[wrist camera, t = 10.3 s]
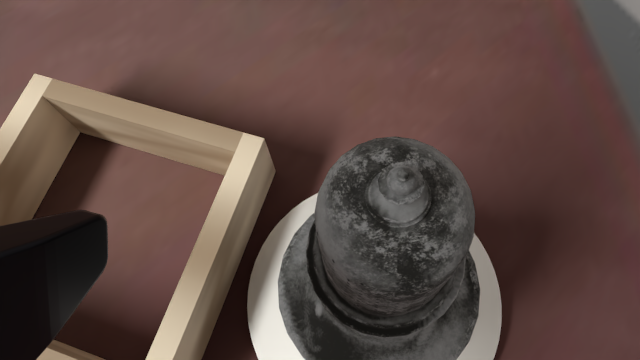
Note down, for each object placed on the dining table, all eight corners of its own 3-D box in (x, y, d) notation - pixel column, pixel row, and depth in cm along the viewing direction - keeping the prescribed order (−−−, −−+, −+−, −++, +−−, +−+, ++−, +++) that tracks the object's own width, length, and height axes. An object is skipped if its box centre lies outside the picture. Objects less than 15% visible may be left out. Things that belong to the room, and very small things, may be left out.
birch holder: (179, 414, 18) (147, 419, 15) (-49, 325, 20) (-115, 314, 17) (275, 171, 21) (264, 138, 19) (73, 111, 23) (34, 73, 20)
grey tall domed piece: (453, 227, 19) (588, 6, 8) (461, 398, 17) (660, 410, 6) (296, 222, 20) (224, 6, 9) (284, 388, 18) (168, 384, 7)
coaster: (466, 479, 17) (469, 482, 16) (212, 383, 18) (208, 383, 18) (518, 224, 20) (523, 219, 19) (297, 161, 21) (296, 155, 21)
